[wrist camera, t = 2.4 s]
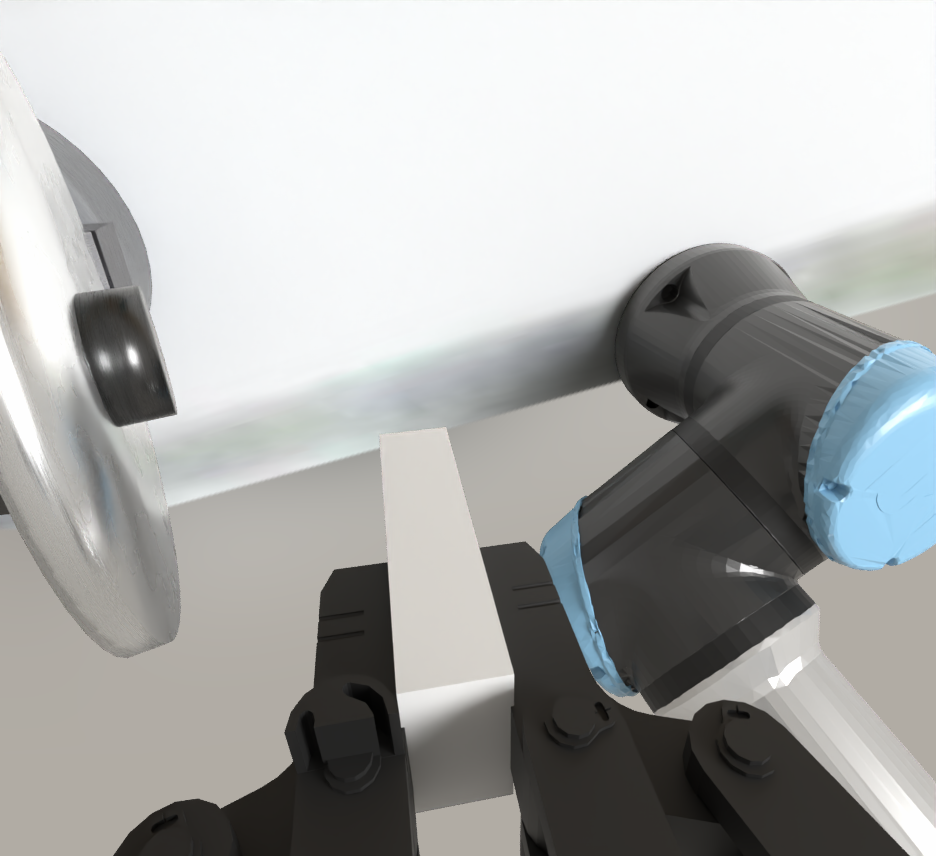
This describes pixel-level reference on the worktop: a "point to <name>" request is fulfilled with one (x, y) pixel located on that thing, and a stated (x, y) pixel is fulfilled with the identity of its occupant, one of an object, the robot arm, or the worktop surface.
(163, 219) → the worktop surface
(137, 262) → the pot
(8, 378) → the lid
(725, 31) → the worktop surface
